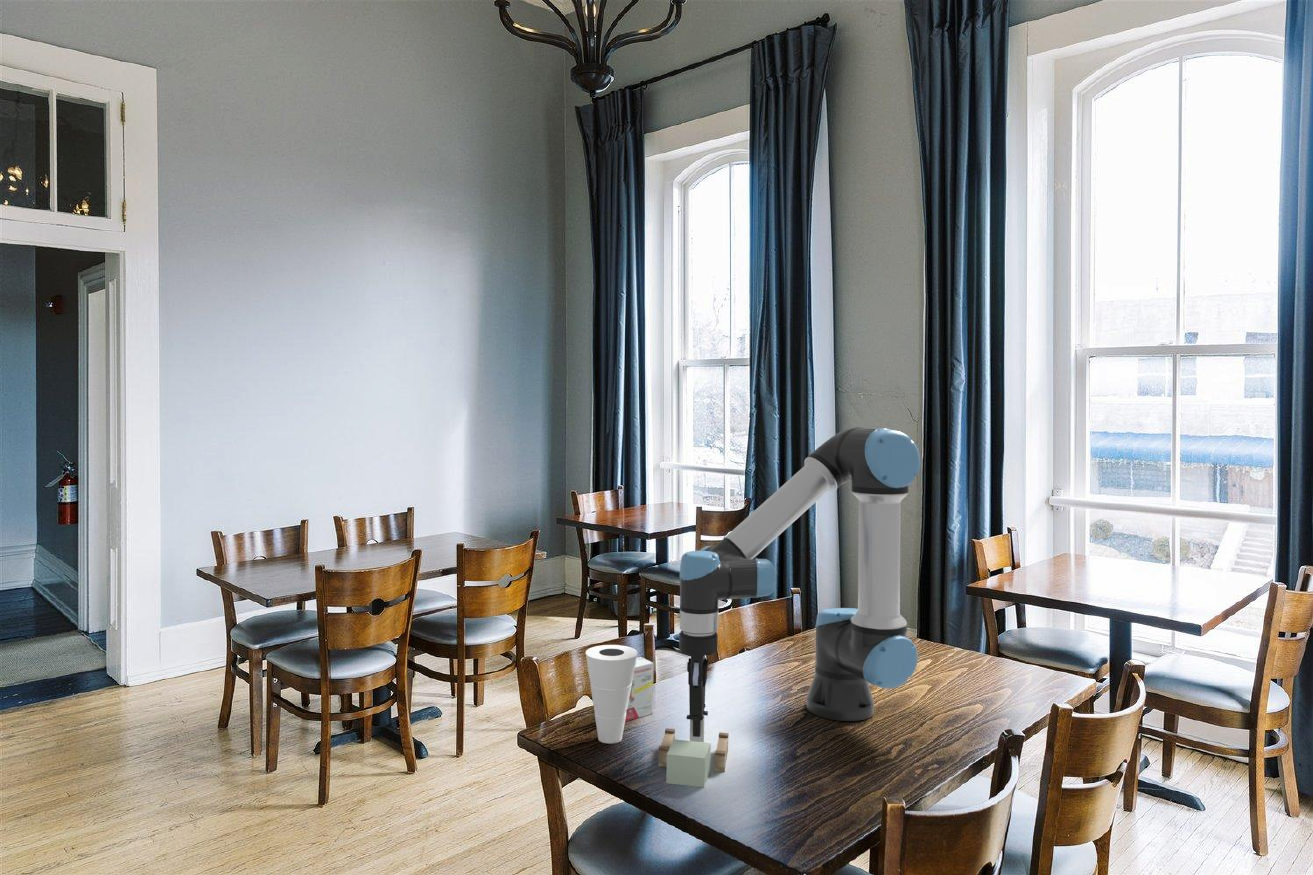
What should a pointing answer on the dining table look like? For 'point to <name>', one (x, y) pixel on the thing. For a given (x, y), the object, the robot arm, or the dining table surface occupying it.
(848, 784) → the dining table surface
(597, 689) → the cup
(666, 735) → the light wood low frame
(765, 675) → the dining table surface
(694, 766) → the block
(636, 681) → the ink box
